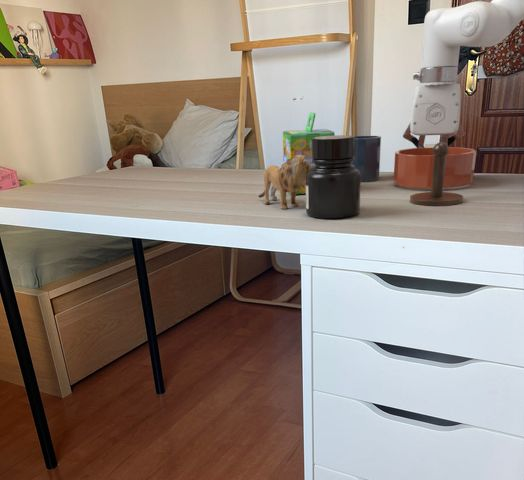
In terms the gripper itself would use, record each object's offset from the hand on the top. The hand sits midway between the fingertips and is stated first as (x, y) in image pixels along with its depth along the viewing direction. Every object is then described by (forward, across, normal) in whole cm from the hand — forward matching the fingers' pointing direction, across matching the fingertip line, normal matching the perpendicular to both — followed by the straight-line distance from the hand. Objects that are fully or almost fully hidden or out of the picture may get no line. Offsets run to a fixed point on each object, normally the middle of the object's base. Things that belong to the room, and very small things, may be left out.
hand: (430, 167), depth 120 cm
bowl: (+1, 0, -9) cm, 9 cm away
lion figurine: (+2, -27, -34) cm, 43 cm away
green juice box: (+2, -25, -19) cm, 32 cm away
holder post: (+2, 0, -31) cm, 31 cm away
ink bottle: (+2, -17, -42) cm, 45 cm away
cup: (+2, -15, -5) cm, 16 cm away
